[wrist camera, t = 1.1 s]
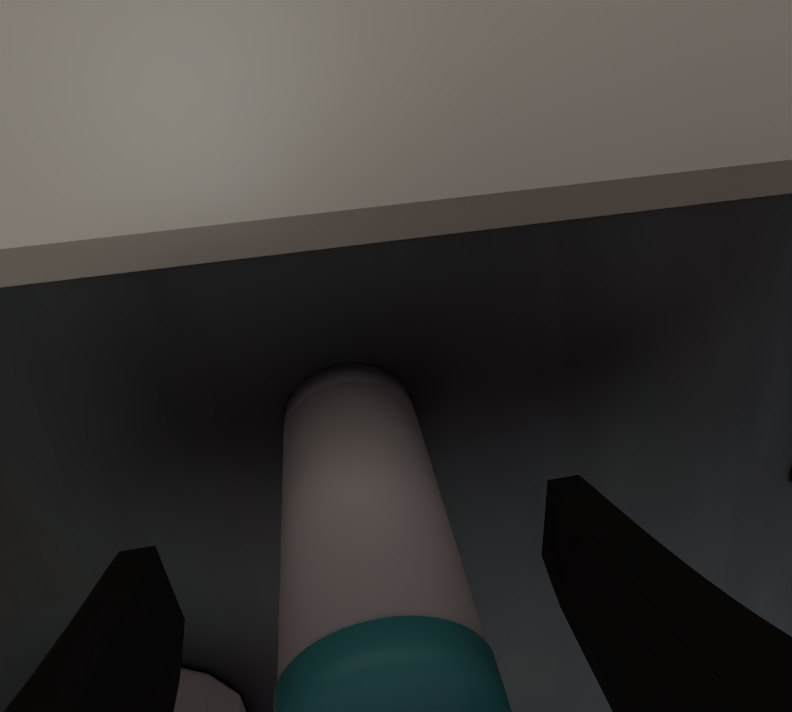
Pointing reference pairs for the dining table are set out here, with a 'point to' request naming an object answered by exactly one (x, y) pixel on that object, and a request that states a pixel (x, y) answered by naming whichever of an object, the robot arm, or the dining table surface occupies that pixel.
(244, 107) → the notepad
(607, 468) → the dining table surface
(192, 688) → the white cup
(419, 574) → the marker
